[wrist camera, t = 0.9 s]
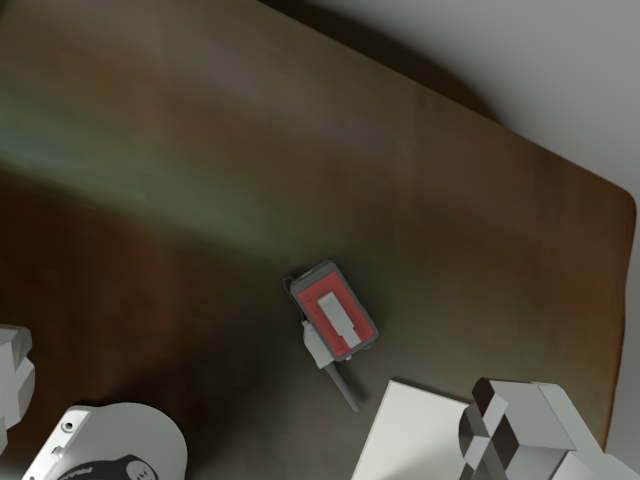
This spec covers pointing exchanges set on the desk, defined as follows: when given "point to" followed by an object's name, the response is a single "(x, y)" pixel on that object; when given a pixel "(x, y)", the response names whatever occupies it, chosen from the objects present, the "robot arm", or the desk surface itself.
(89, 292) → the desk surface
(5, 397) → the robot arm
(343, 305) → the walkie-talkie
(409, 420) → the mat
